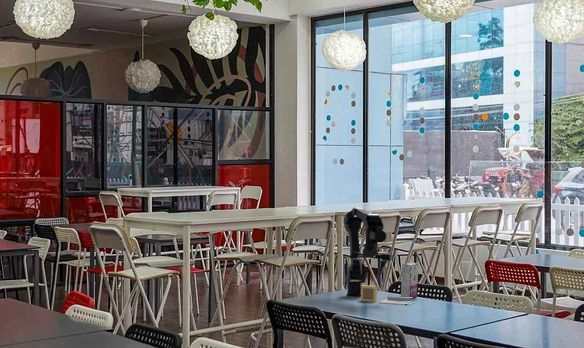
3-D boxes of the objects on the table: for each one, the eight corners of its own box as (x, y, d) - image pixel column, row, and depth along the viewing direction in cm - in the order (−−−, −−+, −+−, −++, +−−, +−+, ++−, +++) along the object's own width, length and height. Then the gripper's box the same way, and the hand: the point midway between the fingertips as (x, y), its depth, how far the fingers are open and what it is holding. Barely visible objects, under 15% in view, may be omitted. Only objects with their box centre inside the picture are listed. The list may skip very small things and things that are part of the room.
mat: (379, 302, 395) (379, 298, 395) (386, 299, 408) (386, 295, 408) (409, 305, 390) (409, 301, 390) (415, 301, 404) (415, 297, 404)
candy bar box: (407, 295, 424) (409, 262, 424) (417, 297, 422) (419, 263, 422) (399, 298, 414) (401, 263, 414) (409, 299, 412) (411, 264, 412)
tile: (360, 300, 401) (361, 285, 401) (361, 300, 403) (362, 285, 403) (375, 301, 399) (375, 286, 399) (376, 301, 401) (376, 286, 401)
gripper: (347, 240, 397) (346, 275, 396) (388, 243, 391) (386, 277, 391) (353, 239, 407) (352, 273, 407) (392, 241, 401) (391, 275, 401)
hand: (370, 274), depth 401 cm, fingers open, 9 cm apart
